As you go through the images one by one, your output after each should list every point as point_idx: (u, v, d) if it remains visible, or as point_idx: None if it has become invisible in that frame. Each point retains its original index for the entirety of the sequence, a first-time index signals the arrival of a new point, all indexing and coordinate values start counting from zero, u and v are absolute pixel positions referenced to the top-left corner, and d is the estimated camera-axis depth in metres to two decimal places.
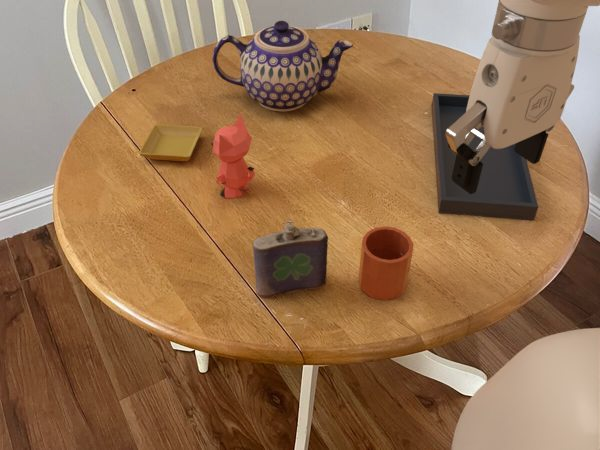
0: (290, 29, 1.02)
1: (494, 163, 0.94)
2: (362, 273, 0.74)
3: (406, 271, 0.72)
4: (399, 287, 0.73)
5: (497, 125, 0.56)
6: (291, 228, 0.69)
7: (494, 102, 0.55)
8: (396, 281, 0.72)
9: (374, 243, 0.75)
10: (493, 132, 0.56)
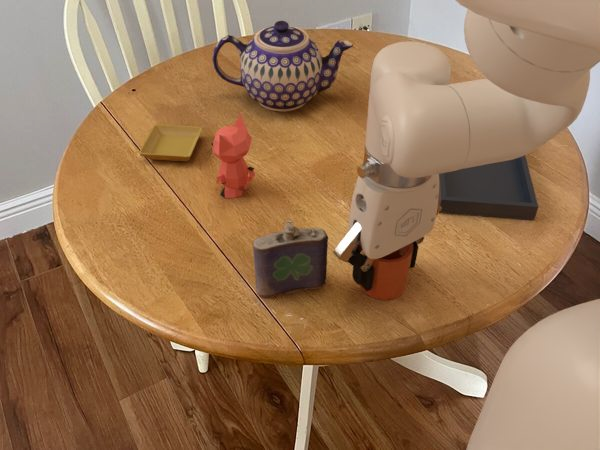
0: (290, 29, 1.02)
1: (494, 163, 0.94)
2: None
3: (406, 271, 0.72)
4: (399, 287, 0.73)
5: (370, 242, 0.65)
6: (291, 228, 0.69)
7: (365, 224, 0.64)
8: (396, 281, 0.72)
9: None
10: (367, 247, 0.66)
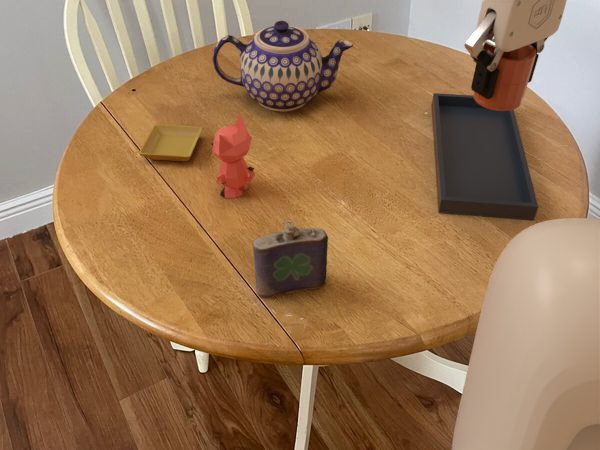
0: (290, 29, 1.02)
1: (494, 163, 0.94)
2: None
3: (528, 77, 0.73)
4: (519, 96, 0.74)
5: (505, 28, 0.66)
6: (291, 228, 0.69)
7: (503, 7, 0.65)
8: (518, 87, 0.73)
9: None
10: (502, 35, 0.66)
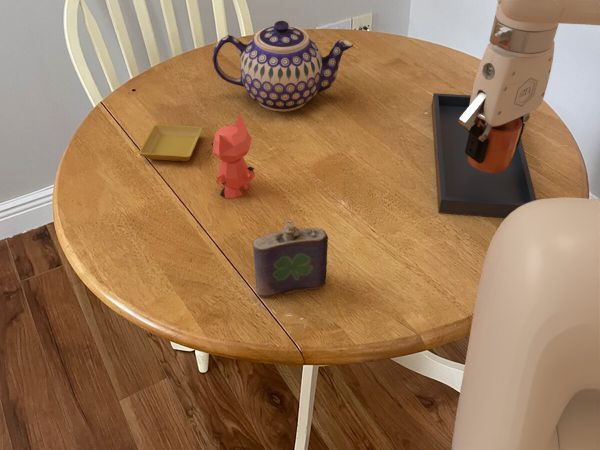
0: (290, 29, 1.02)
1: None
2: None
3: (515, 144, 0.82)
4: (507, 160, 0.83)
5: (494, 108, 0.75)
6: (291, 228, 0.69)
7: (491, 91, 0.74)
8: (506, 153, 0.82)
9: (483, 124, 0.85)
10: (491, 113, 0.76)
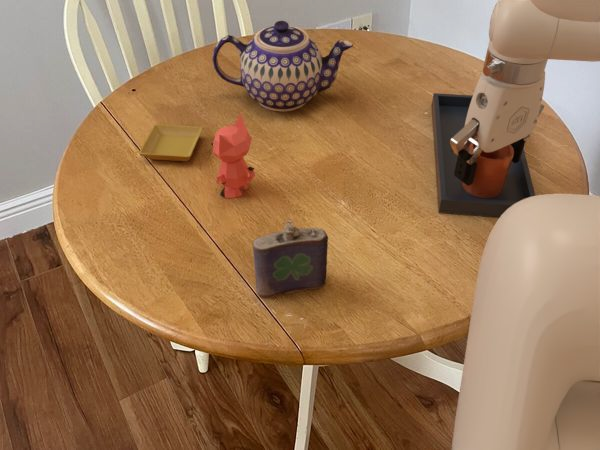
0: (290, 29, 1.02)
1: None
2: None
3: (507, 171, 0.85)
4: (499, 186, 0.86)
5: (487, 135, 0.78)
6: (291, 228, 0.69)
7: (484, 119, 0.77)
8: (498, 180, 0.85)
9: None
10: (484, 140, 0.78)
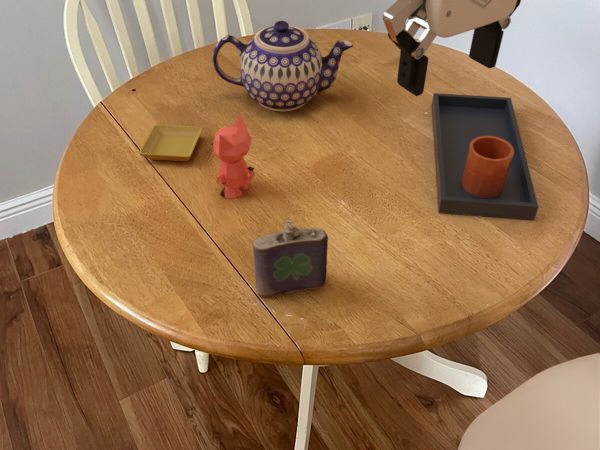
0: (290, 29, 1.02)
1: None
2: (468, 175, 0.87)
3: (507, 171, 0.85)
4: (499, 186, 0.86)
5: (439, 5, 0.49)
6: (291, 228, 0.69)
7: None
8: (498, 180, 0.85)
9: (476, 151, 0.88)
10: (436, 15, 0.50)
